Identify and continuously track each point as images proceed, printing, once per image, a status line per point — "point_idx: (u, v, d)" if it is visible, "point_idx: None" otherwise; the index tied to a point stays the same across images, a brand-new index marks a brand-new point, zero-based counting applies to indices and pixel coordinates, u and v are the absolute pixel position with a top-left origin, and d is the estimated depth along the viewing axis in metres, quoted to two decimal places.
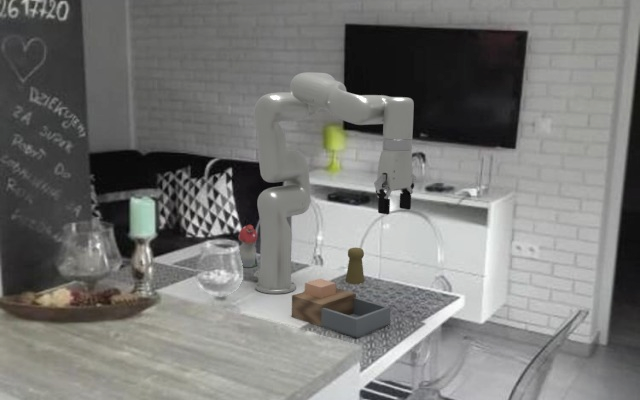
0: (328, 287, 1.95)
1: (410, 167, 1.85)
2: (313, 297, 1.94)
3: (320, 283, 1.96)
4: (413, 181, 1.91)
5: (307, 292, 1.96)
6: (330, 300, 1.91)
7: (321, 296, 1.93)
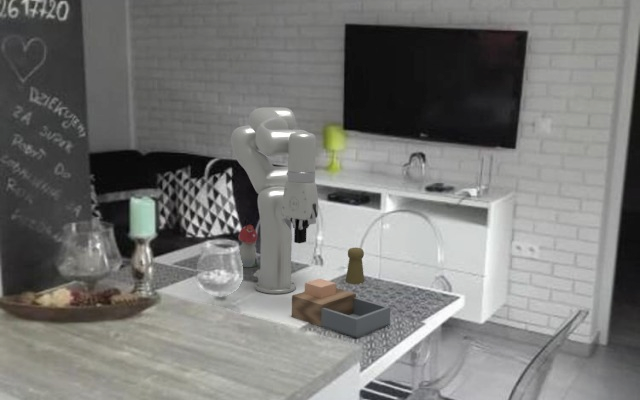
0: (328, 287, 1.95)
1: None
2: (313, 297, 1.94)
3: (320, 283, 1.96)
4: None
5: (307, 292, 1.96)
6: (330, 300, 1.91)
7: (321, 296, 1.93)
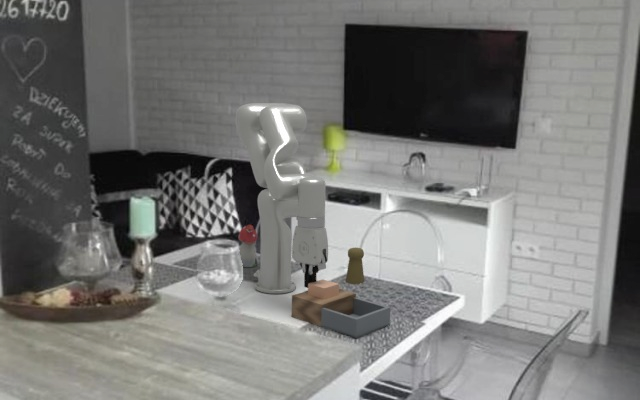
0: (331, 288, 1.94)
1: None
2: (313, 297, 1.94)
3: (323, 284, 1.95)
4: None
5: (310, 293, 1.96)
6: (330, 300, 1.91)
7: (324, 297, 1.93)
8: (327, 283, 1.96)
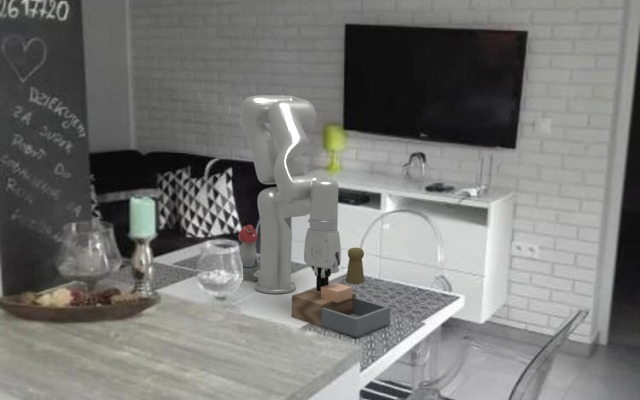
0: (344, 291, 1.91)
1: None
2: (313, 297, 1.94)
3: (336, 287, 1.92)
4: None
5: (323, 296, 1.93)
6: None
7: (338, 300, 1.90)
8: (340, 286, 1.94)
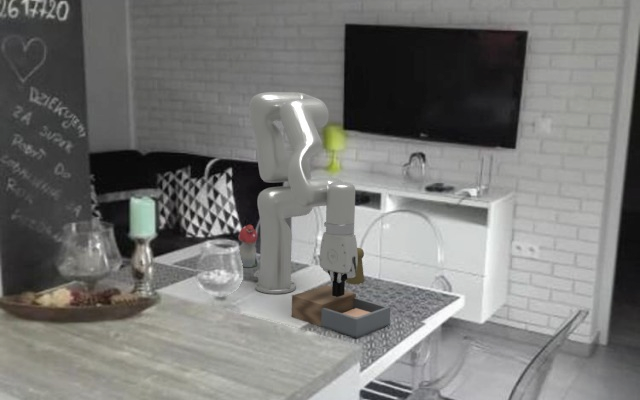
0: None
1: None
2: (313, 297, 1.94)
3: None
4: None
5: None
6: (330, 300, 1.91)
7: None
8: None
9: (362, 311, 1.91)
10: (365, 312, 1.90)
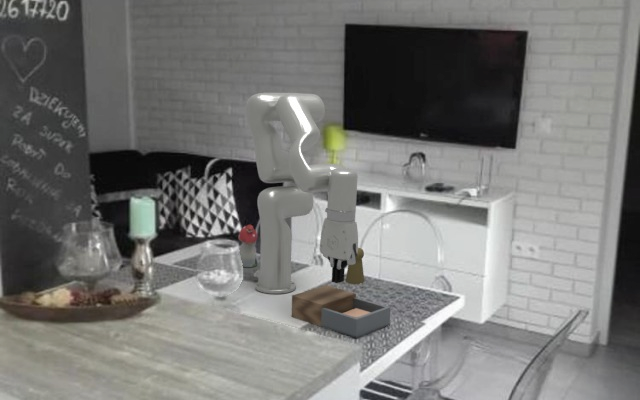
0: None
1: None
2: (313, 297, 1.94)
3: None
4: None
5: None
6: (330, 300, 1.91)
7: None
8: None
9: (362, 311, 1.91)
10: (365, 312, 1.90)
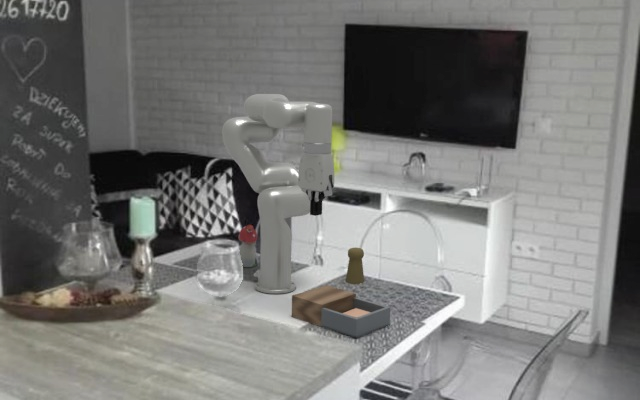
0: None
1: None
2: (313, 297, 1.94)
3: None
4: None
5: None
6: (330, 300, 1.91)
7: None
8: None
9: (362, 311, 1.91)
10: (365, 312, 1.90)
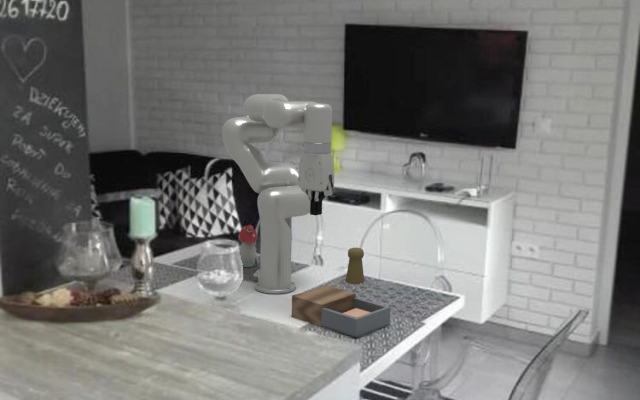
0: None
1: None
2: (313, 297, 1.94)
3: None
4: None
5: None
6: (330, 300, 1.91)
7: None
8: None
9: (362, 311, 1.91)
10: (365, 312, 1.90)
